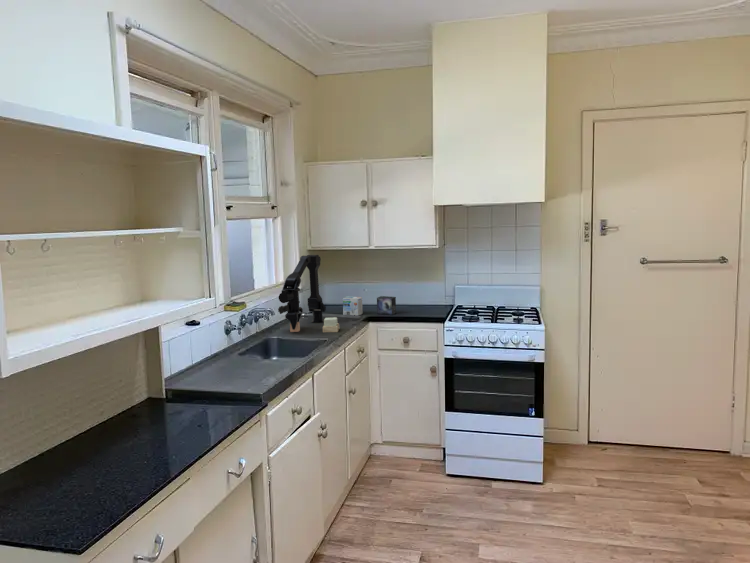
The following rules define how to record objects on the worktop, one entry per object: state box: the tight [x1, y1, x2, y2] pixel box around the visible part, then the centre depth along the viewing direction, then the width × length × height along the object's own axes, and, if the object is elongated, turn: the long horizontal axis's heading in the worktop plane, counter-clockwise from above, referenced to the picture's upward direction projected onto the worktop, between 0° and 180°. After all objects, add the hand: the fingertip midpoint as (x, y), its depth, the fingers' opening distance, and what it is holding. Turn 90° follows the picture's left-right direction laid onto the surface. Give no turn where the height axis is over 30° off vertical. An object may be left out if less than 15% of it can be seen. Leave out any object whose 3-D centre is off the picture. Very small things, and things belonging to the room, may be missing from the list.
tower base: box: [322, 322, 340, 333], centre depth 306 cm, size 8×8×4 cm
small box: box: [376, 295, 397, 316], centre depth 349 cm, size 11×6×10 cm, turn 62°
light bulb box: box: [342, 296, 364, 316], centre depth 350 cm, size 11×7×11 cm, turn 68°
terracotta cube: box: [289, 321, 301, 333], centre depth 308 cm, size 4×4×4 cm
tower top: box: [323, 317, 338, 326], centre depth 306 cm, size 6×6×4 cm
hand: (295, 328), depth 308 cm, fingers open, 7 cm apart
